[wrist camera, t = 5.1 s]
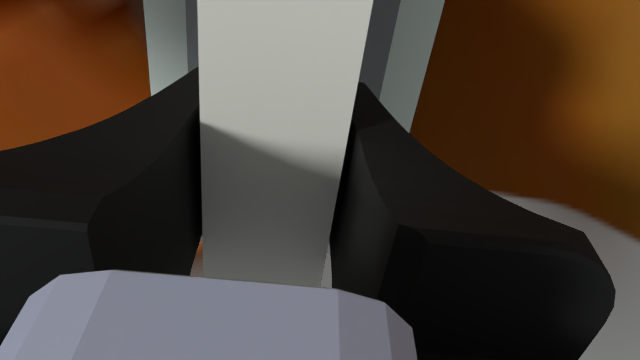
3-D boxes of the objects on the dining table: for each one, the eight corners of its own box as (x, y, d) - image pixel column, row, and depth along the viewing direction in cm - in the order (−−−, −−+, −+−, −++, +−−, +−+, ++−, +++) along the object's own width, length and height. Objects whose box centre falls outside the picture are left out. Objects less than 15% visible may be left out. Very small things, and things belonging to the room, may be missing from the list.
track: (164, 201, 21) (150, 236, 19) (120, -356, 11) (84, -383, 10) (381, 221, 21) (386, 257, 20) (515, -288, 12) (547, -302, 10)
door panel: (242, 177, 18) (205, 355, 12) (256, -170, 12) (194, -135, 6) (311, 184, 18) (305, 363, 12) (360, -154, 12) (393, -107, 6)
